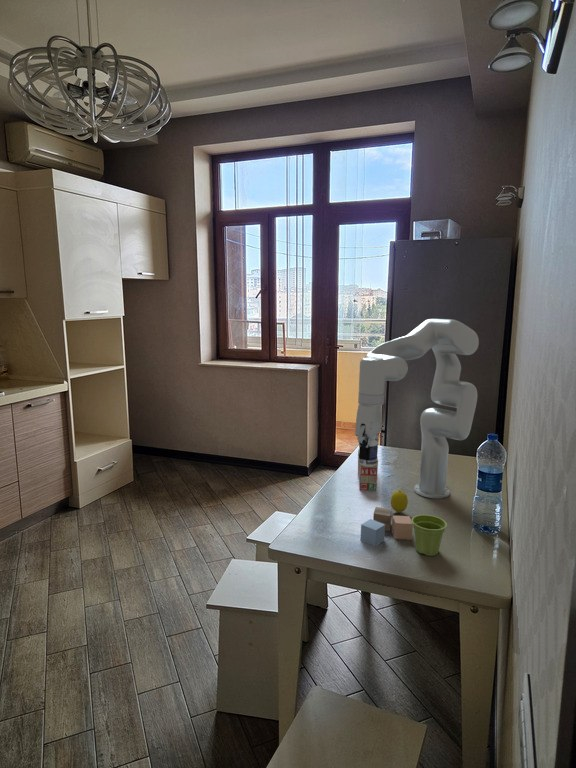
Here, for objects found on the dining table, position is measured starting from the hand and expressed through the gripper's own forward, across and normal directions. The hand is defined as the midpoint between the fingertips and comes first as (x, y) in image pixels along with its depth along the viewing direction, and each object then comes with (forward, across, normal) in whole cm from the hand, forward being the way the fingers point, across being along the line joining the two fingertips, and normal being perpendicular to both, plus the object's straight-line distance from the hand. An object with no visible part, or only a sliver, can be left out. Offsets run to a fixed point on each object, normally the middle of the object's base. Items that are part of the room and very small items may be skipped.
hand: (368, 456), depth 144 cm
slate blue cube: (+22, +8, +6) cm, 25 cm away
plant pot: (+22, +5, +21) cm, 31 cm away
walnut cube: (+22, -2, +5) cm, 23 cm away
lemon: (+23, -14, +6) cm, 27 cm away
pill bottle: (+3, 0, 0) cm, 3 cm away
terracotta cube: (+22, 0, +12) cm, 25 cm away
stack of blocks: (+23, -35, -15) cm, 44 cm away
